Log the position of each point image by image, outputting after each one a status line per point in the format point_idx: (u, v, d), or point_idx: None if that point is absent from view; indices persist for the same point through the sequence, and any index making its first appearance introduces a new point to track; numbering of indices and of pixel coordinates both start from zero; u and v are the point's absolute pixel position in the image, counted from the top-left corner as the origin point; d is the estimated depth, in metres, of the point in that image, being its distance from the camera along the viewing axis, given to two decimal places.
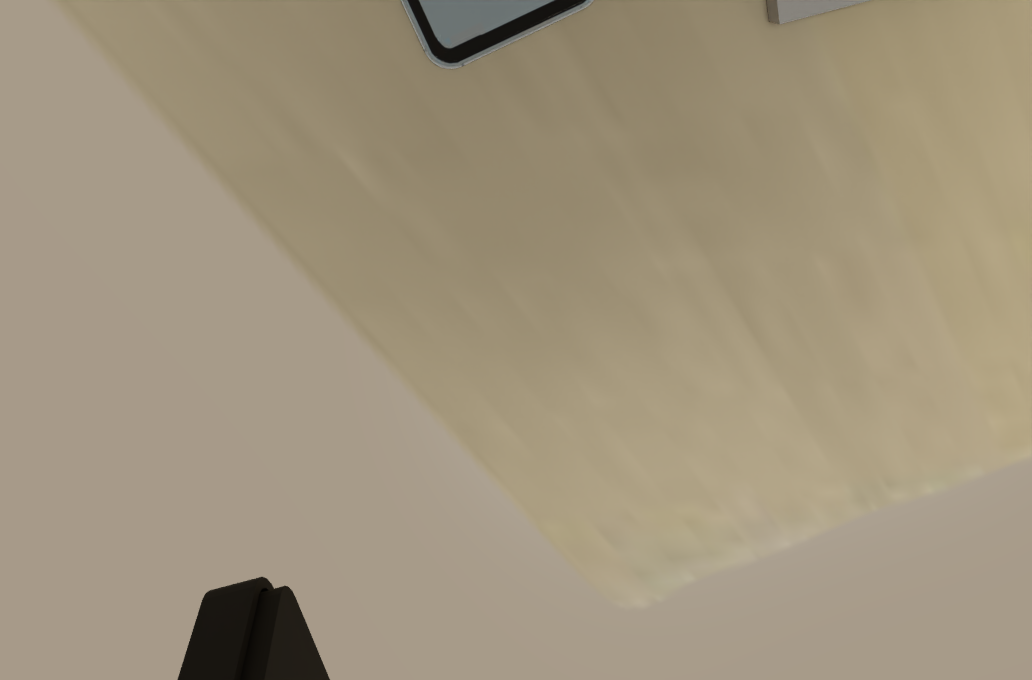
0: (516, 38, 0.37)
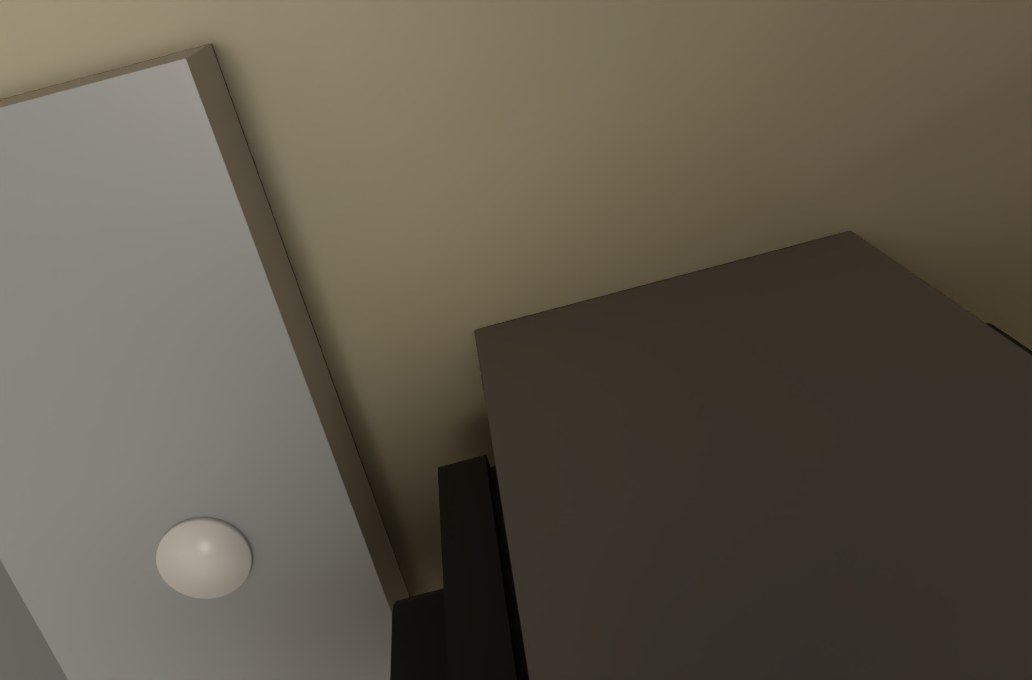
0: None
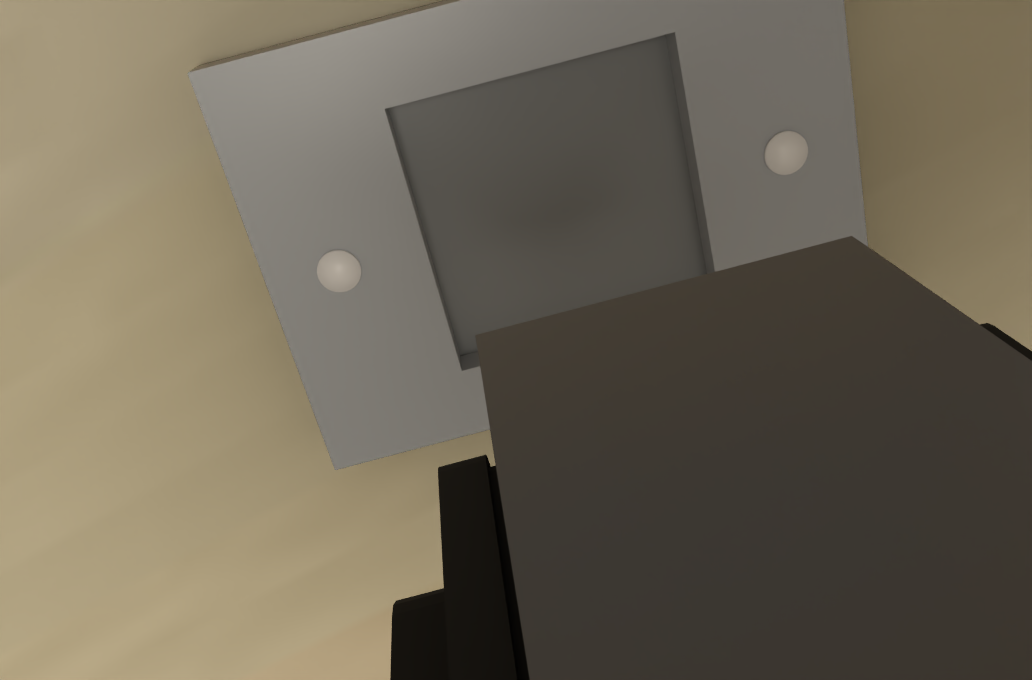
0: None
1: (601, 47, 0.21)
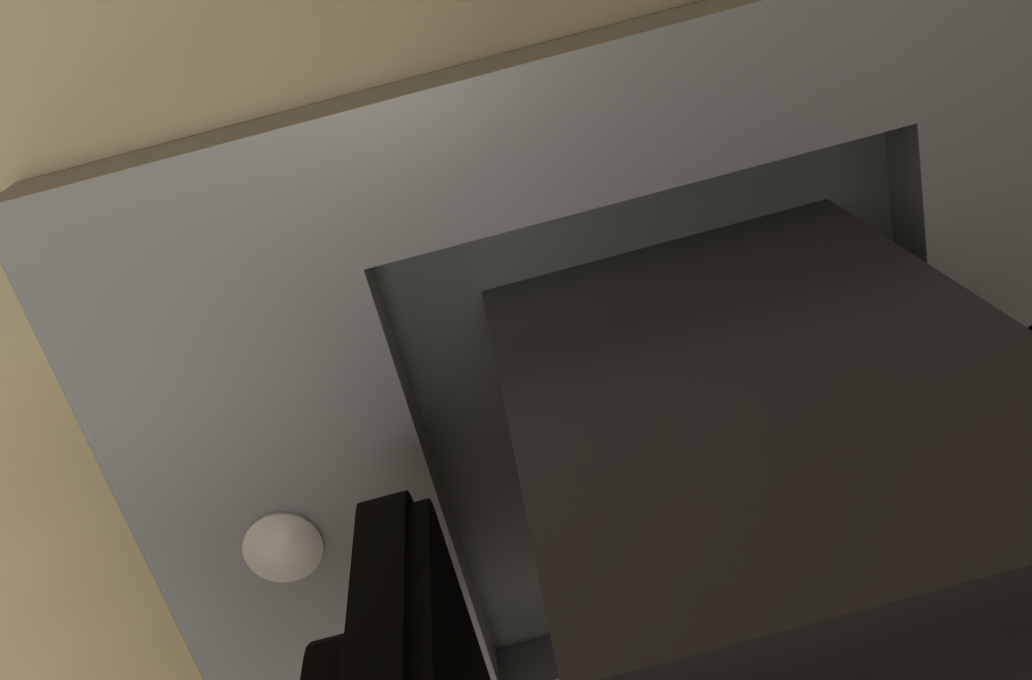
0: None
1: (777, 152, 0.11)
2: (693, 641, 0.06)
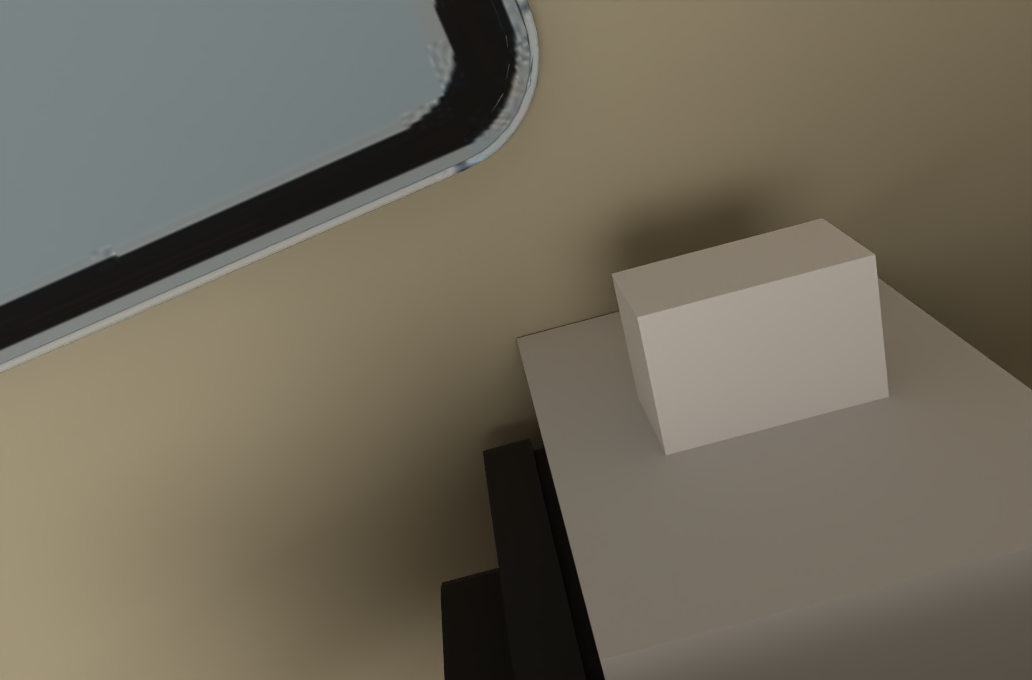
0: None
1: None
2: None
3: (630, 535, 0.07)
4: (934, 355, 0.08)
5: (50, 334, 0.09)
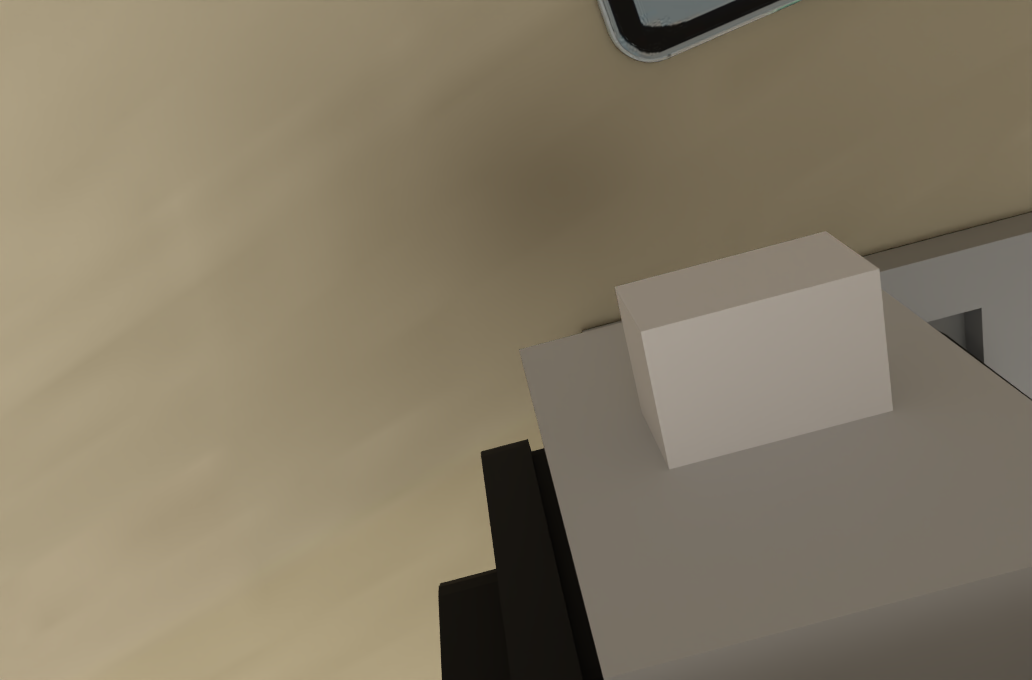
0: None
1: None
2: None
3: (633, 550, 0.07)
4: (939, 370, 0.08)
5: None
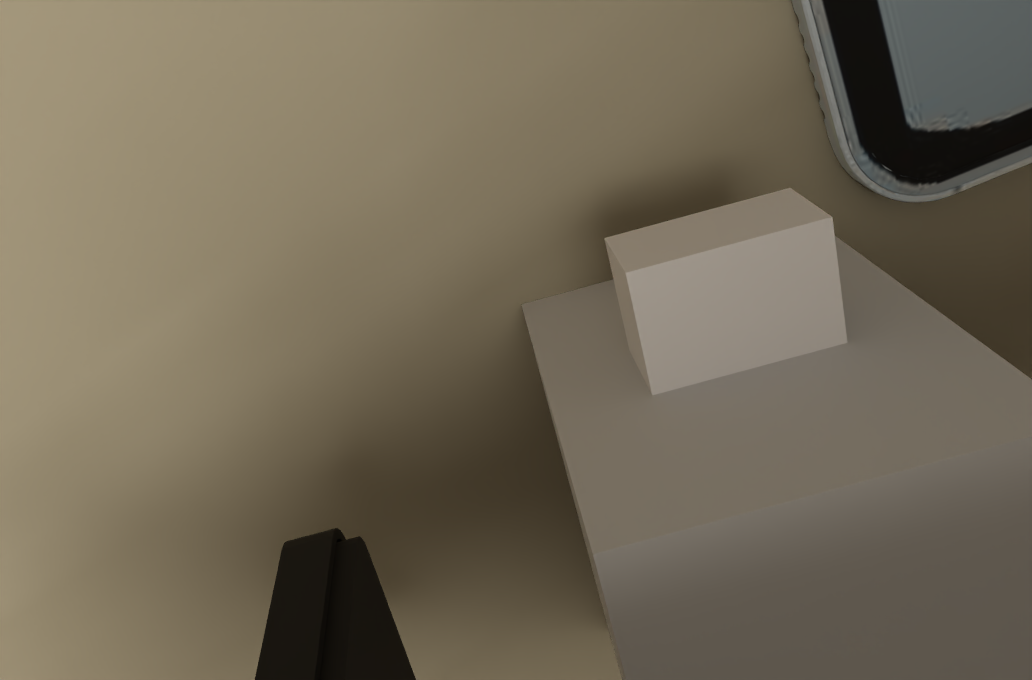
0: None
1: None
2: None
3: (619, 458, 0.08)
4: (890, 308, 0.09)
5: None
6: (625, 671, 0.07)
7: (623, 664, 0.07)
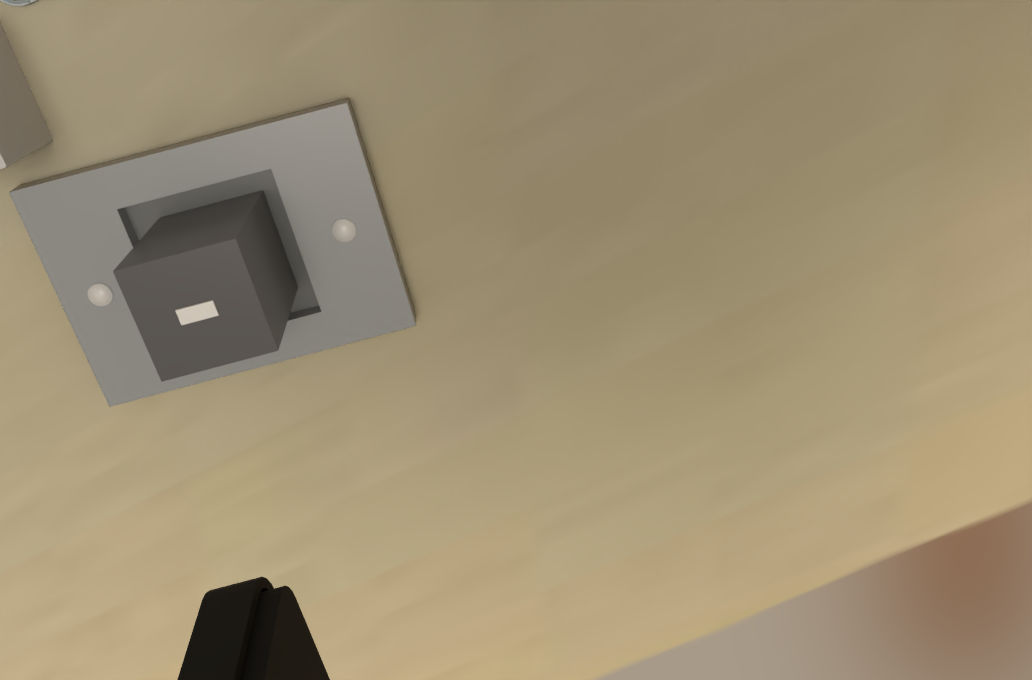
0: None
1: (231, 176, 0.40)
2: (136, 264, 0.34)
3: None
4: None
5: None
6: None
7: None
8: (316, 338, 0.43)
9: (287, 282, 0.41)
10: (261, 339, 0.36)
